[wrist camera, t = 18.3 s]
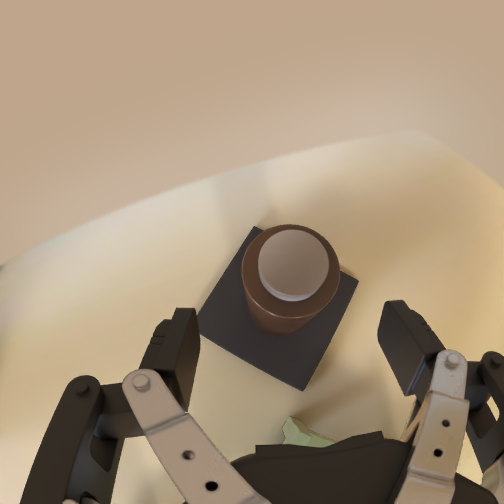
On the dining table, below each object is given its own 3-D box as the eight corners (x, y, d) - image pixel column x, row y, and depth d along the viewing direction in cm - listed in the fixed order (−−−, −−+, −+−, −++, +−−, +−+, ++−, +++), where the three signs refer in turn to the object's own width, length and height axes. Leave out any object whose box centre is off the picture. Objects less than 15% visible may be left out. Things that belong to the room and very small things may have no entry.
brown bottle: (236, 317, 22) (219, 280, 13) (267, 265, 23) (272, 198, 14) (291, 347, 21) (317, 334, 12) (320, 294, 22) (360, 243, 13)
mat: (190, 328, 22) (189, 327, 22) (254, 228, 25) (254, 225, 25) (301, 390, 20) (302, 391, 20) (357, 282, 23) (359, 280, 23)
